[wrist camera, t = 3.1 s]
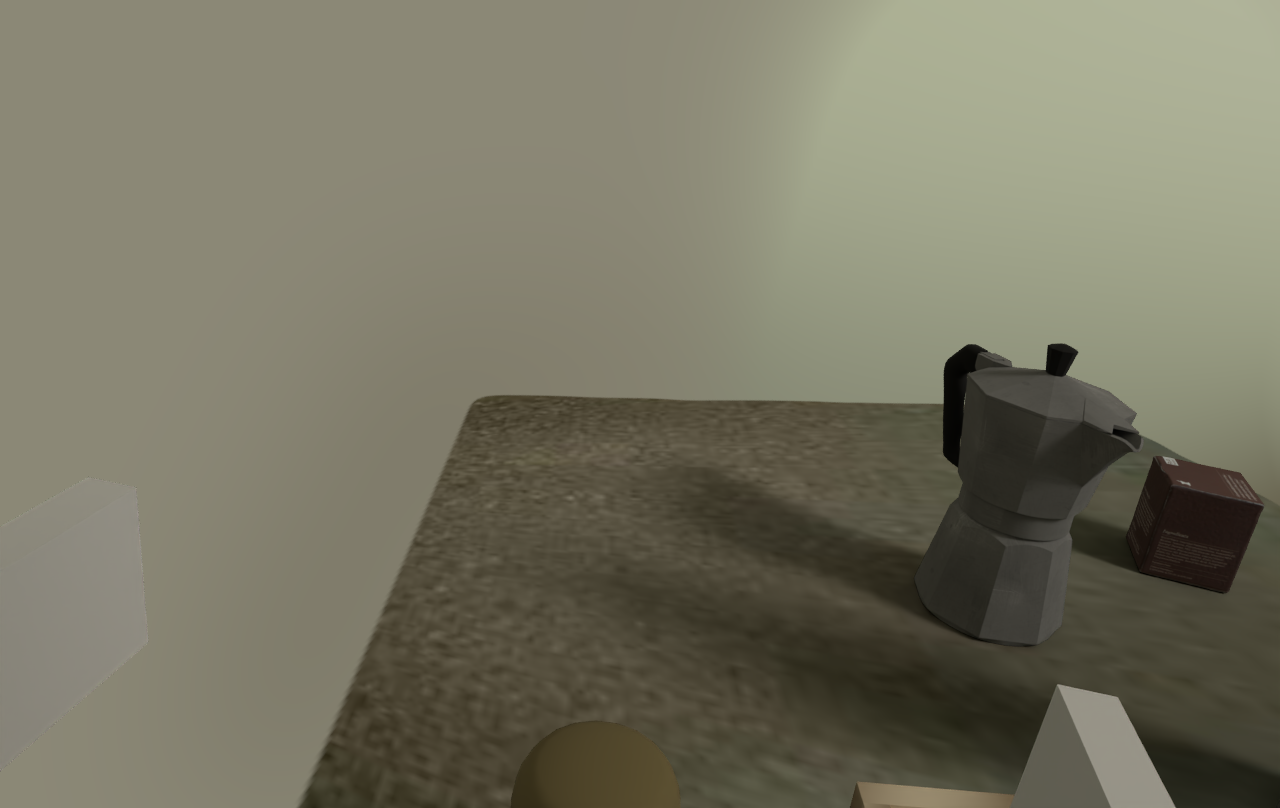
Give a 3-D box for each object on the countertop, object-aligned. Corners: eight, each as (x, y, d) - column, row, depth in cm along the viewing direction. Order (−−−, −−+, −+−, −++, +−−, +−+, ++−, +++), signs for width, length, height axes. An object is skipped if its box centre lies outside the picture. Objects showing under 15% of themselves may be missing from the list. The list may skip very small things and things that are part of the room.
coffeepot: (1118, 659, 54) (1223, 384, 47) (996, 680, 50) (1090, 387, 44) (956, 531, 67) (1020, 303, 60) (850, 541, 64) (906, 300, 57)
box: (1229, 597, 63) (1267, 506, 60) (1136, 573, 64) (1170, 484, 62) (1208, 557, 68) (1243, 472, 65) (1123, 536, 70) (1154, 452, 67)
